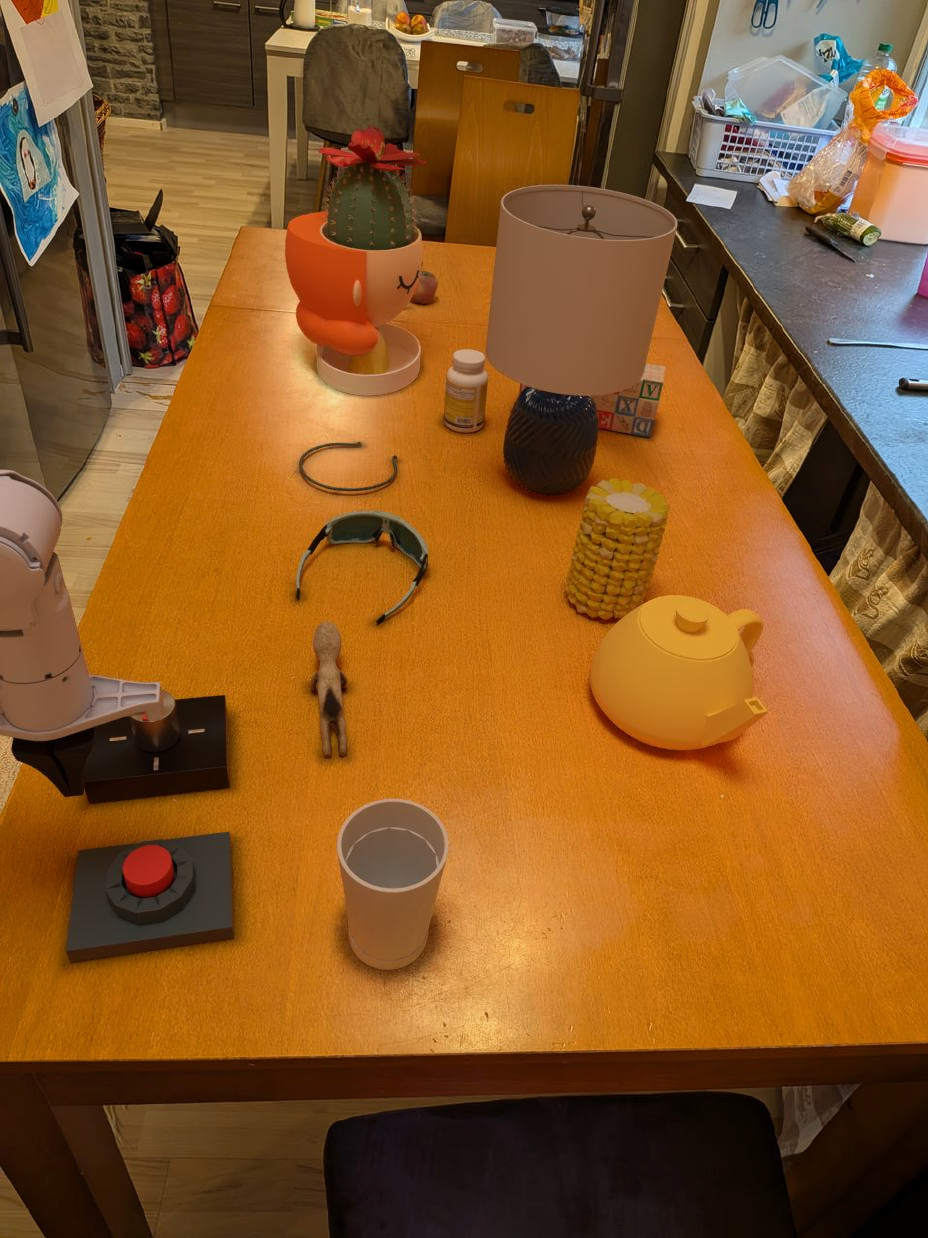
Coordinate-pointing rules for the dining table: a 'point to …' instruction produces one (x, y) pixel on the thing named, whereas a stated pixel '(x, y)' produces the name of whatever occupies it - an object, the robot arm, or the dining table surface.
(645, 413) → the stack of blocks
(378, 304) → the potted cactus
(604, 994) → the dining table surface
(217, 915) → the switch block
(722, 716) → the teapot
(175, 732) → the dimmer knob
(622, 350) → the lamp
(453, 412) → the pill bottle
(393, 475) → the black headband
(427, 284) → the apple
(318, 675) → the figurine
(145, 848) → the switch button
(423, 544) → the sunglasses
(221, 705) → the dimmer panel
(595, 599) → the food
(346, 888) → the cup
